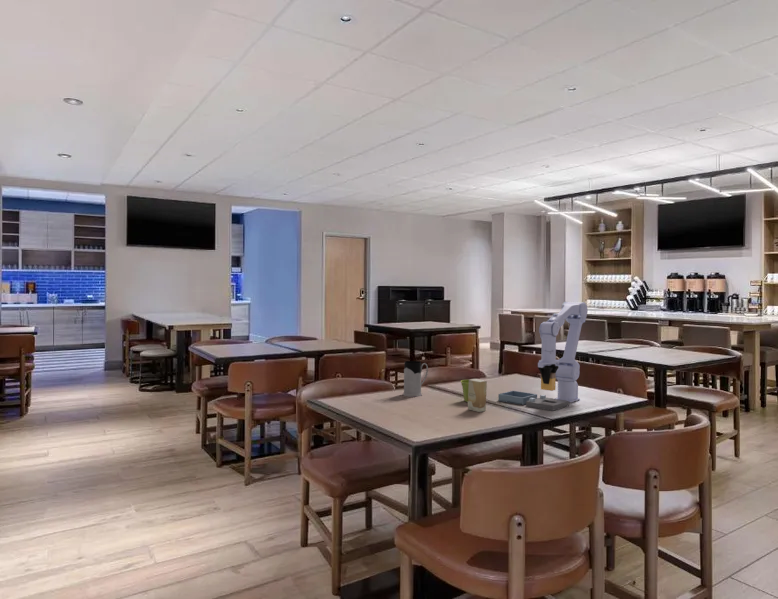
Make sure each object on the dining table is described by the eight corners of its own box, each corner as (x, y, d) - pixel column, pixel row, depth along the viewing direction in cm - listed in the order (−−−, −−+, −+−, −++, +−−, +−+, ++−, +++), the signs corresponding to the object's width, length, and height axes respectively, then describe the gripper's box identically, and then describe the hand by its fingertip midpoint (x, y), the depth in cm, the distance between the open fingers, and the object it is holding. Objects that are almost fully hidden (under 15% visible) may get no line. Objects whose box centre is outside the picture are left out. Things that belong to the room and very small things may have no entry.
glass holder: (398, 394, 251) (399, 361, 250) (420, 390, 260) (420, 359, 260) (412, 397, 244) (412, 363, 244) (434, 393, 254) (434, 361, 253)
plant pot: (472, 404, 230) (472, 383, 230) (455, 400, 238) (456, 380, 238) (486, 401, 236) (486, 381, 236) (470, 398, 244) (470, 378, 243)
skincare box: (467, 409, 220) (467, 379, 220) (474, 408, 223) (474, 378, 223) (479, 412, 215) (479, 381, 215) (486, 410, 218) (487, 380, 218)
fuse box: (542, 401, 238) (542, 394, 238) (568, 405, 229) (568, 398, 229) (526, 406, 228) (526, 398, 228) (552, 410, 219) (552, 402, 219)
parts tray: (512, 397, 247) (513, 390, 247) (537, 401, 238) (537, 394, 238) (498, 400, 238) (498, 394, 238) (522, 405, 230) (523, 398, 230)
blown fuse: (544, 388, 231) (544, 371, 231) (555, 389, 228) (555, 373, 227) (540, 389, 229) (541, 372, 229) (552, 390, 225) (552, 373, 225)
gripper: (548, 348, 236) (547, 380, 236) (531, 351, 225) (530, 384, 226) (563, 350, 231) (562, 382, 231) (547, 352, 221) (546, 386, 221)
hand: (548, 383), depth 228 cm, fingers closed on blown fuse, 3 cm apart
